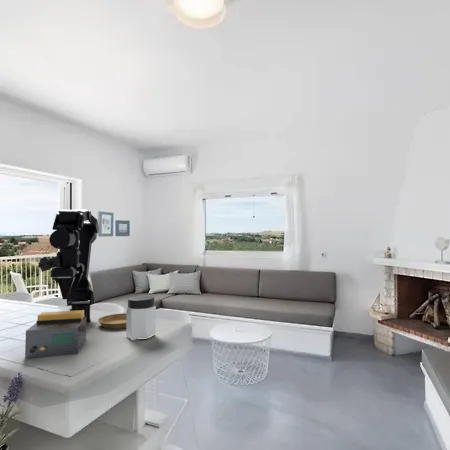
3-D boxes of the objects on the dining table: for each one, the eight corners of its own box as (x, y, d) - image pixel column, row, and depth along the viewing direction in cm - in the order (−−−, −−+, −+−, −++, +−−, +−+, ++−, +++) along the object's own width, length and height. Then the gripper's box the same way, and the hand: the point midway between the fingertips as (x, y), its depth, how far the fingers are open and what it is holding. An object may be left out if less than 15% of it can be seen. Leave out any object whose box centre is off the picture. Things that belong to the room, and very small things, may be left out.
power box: (40, 343, 92) (41, 316, 93) (86, 340, 95) (86, 314, 96) (23, 360, 80) (24, 328, 80) (76, 355, 83) (77, 325, 83)
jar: (156, 332, 103) (157, 295, 104) (153, 340, 95) (154, 300, 96) (128, 333, 102) (129, 295, 103) (123, 341, 94) (123, 300, 95)
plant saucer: (116, 333, 103) (116, 325, 103) (88, 327, 111) (89, 319, 111) (149, 323, 115) (149, 316, 115) (123, 318, 123) (123, 311, 123)
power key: (42, 319, 92) (42, 312, 92) (84, 316, 95) (84, 310, 95) (37, 322, 88) (37, 315, 88) (81, 320, 91) (81, 313, 91)
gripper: (50, 247, 110) (49, 293, 109) (31, 249, 92) (30, 303, 91) (84, 247, 112) (84, 291, 112) (73, 248, 94) (72, 301, 94)
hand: (68, 296), depth 102 cm, fingers open, 9 cm apart
